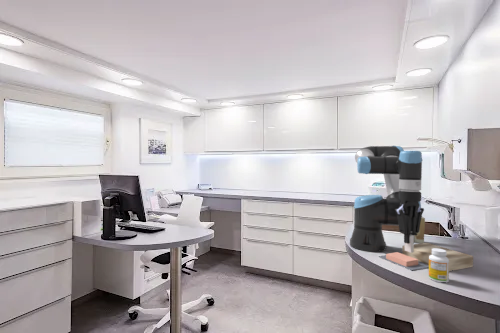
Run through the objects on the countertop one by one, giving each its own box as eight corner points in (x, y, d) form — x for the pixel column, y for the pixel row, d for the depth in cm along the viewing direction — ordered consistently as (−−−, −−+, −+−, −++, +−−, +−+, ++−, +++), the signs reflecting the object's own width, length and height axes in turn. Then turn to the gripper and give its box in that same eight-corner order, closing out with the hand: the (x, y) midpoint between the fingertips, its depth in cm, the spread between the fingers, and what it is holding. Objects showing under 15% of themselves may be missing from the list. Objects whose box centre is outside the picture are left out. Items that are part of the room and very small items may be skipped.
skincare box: (409, 242, 132) (410, 217, 132) (407, 239, 136) (407, 215, 136) (424, 243, 130) (425, 217, 130) (422, 241, 134) (422, 216, 134)
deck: (402, 255, 113) (402, 245, 113) (426, 251, 117) (426, 242, 117) (446, 271, 96) (446, 260, 96) (473, 266, 101) (473, 256, 100)
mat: (378, 256, 110) (378, 256, 110) (398, 254, 114) (398, 253, 114) (412, 270, 96) (412, 269, 96) (433, 267, 100) (433, 266, 100)
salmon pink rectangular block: (397, 252, 110) (397, 257, 110) (386, 253, 108) (386, 258, 108) (418, 259, 101) (418, 264, 101) (406, 261, 99) (406, 267, 99)
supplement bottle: (434, 275, 93) (434, 246, 93) (452, 281, 88) (452, 251, 88) (425, 278, 90) (425, 248, 90) (443, 284, 85) (443, 253, 85)
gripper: (406, 192, 100) (405, 256, 100) (431, 191, 104) (430, 252, 105) (389, 190, 107) (388, 250, 107) (413, 189, 111) (412, 246, 112)
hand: (408, 251), depth 106 cm, fingers closed
